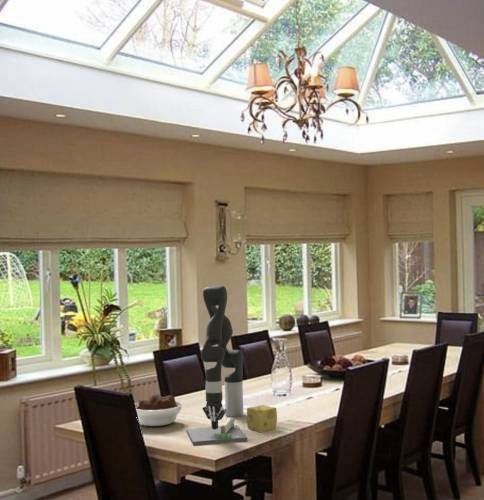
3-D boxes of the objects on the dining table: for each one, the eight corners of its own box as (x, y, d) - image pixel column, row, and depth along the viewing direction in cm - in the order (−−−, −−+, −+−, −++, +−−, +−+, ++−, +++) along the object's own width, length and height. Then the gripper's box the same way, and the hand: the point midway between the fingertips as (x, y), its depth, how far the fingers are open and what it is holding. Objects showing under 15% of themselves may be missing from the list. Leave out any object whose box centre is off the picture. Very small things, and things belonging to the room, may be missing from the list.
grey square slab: (186, 432, 334) (186, 425, 334) (237, 428, 338) (237, 421, 338) (193, 445, 310) (193, 438, 310) (247, 440, 315) (247, 433, 315)
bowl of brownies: (125, 422, 357) (124, 392, 357) (173, 416, 367) (172, 387, 367) (139, 433, 334) (138, 400, 334) (189, 426, 345) (189, 395, 345)
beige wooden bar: (227, 426, 336) (227, 417, 336) (234, 426, 335) (234, 417, 335) (218, 435, 318) (218, 426, 318) (226, 436, 317) (226, 427, 317)
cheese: (260, 432, 329) (259, 410, 329) (246, 428, 338) (245, 407, 338) (277, 428, 335) (277, 407, 335) (263, 424, 344) (262, 404, 344)
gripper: (197, 390, 325) (198, 428, 325) (219, 393, 317) (220, 432, 317) (208, 387, 331) (209, 425, 331) (230, 390, 323) (231, 429, 323)
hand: (214, 429), depth 324 cm, fingers closed
